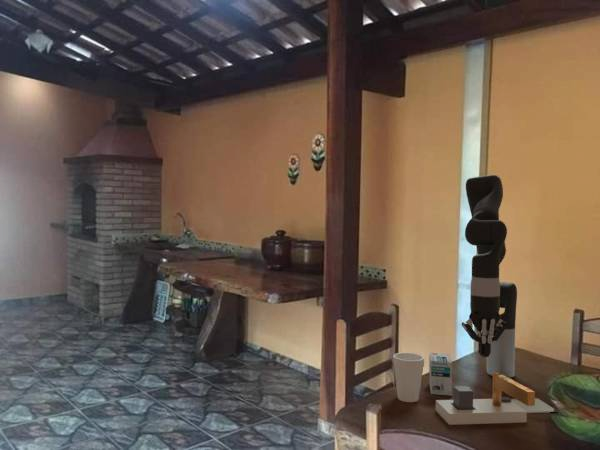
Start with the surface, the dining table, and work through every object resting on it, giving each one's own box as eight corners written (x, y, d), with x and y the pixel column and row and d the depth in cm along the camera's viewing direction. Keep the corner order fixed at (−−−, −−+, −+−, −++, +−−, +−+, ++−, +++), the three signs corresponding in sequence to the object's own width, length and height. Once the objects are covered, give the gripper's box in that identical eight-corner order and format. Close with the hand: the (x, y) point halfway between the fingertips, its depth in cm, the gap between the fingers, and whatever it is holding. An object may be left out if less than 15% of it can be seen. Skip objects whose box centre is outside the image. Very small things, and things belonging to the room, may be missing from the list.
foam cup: (405, 406, 147) (406, 362, 147) (386, 396, 155) (387, 354, 155) (430, 400, 152) (430, 358, 151) (410, 391, 160) (410, 351, 160)
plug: (453, 414, 141) (453, 386, 141) (466, 413, 142) (467, 386, 142) (458, 419, 137) (459, 391, 137) (472, 419, 138) (473, 391, 138)
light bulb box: (452, 396, 156) (452, 362, 156) (430, 394, 157) (430, 360, 157) (449, 385, 166) (449, 353, 166) (428, 383, 168) (428, 351, 167)
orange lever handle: (526, 426, 126) (527, 392, 125) (490, 403, 141) (491, 372, 141) (535, 426, 126) (535, 391, 126) (498, 402, 142) (498, 372, 142)
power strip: (435, 410, 144) (435, 397, 144) (507, 408, 146) (508, 395, 146) (449, 424, 134) (449, 410, 134) (526, 422, 136) (526, 408, 136)
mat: (507, 400, 152) (507, 399, 152) (537, 399, 153) (537, 398, 153) (524, 413, 142) (524, 412, 142) (557, 412, 143) (557, 411, 143)
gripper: (499, 290, 140) (499, 351, 140) (455, 291, 138) (455, 353, 138) (515, 294, 132) (514, 359, 133) (469, 296, 130) (468, 361, 131)
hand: (484, 356), depth 135 cm, fingers closed
